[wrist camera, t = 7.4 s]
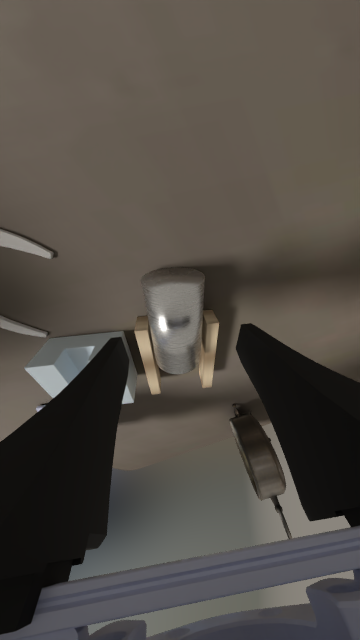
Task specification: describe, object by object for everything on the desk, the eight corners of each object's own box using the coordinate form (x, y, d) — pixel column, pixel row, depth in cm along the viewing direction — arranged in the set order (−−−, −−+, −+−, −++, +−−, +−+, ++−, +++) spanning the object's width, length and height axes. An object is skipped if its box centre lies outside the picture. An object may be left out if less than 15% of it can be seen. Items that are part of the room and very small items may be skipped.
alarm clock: (224, 402, 30) (276, 554, 17) (253, 395, 30) (328, 545, 16) (229, 425, 36) (269, 548, 23) (252, 419, 36) (307, 541, 23)
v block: (137, 374, 22) (134, 402, 19) (79, 381, 22) (65, 411, 19) (123, 330, 18) (115, 357, 15) (49, 338, 17) (24, 368, 14)
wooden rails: (206, 371, 24) (211, 386, 22) (152, 378, 23) (151, 394, 21) (212, 309, 17) (219, 322, 15) (137, 316, 17) (134, 331, 15)
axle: (196, 338, 20) (205, 371, 16) (156, 342, 20) (154, 376, 15) (198, 265, 15) (212, 287, 11) (144, 269, 14) (136, 293, 10)
